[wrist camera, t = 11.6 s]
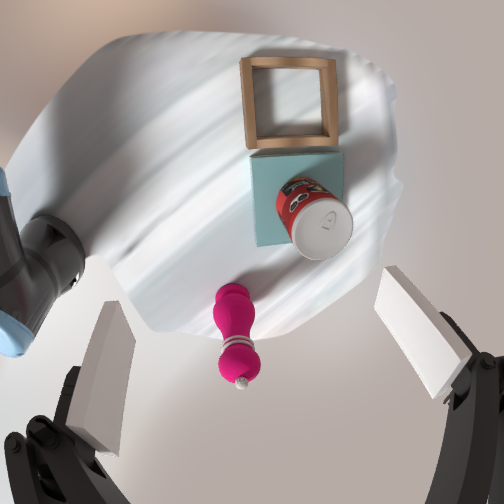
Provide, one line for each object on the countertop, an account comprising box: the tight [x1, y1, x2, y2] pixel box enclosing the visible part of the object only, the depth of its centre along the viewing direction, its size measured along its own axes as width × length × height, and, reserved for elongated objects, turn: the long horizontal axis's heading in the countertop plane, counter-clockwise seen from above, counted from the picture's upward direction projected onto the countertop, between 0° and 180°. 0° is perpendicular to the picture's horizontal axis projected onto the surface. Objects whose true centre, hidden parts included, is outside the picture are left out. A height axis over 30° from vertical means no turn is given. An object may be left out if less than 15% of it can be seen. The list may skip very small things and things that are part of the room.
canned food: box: [276, 177, 353, 260], centre depth 36 cm, size 8×8×11 cm
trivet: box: [250, 152, 344, 247], centre depth 42 cm, size 14×14×2 cm
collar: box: [239, 57, 338, 149], centre depth 34 cm, size 13×13×4 cm
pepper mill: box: [213, 284, 261, 389], centre depth 42 cm, size 7×7×20 cm
